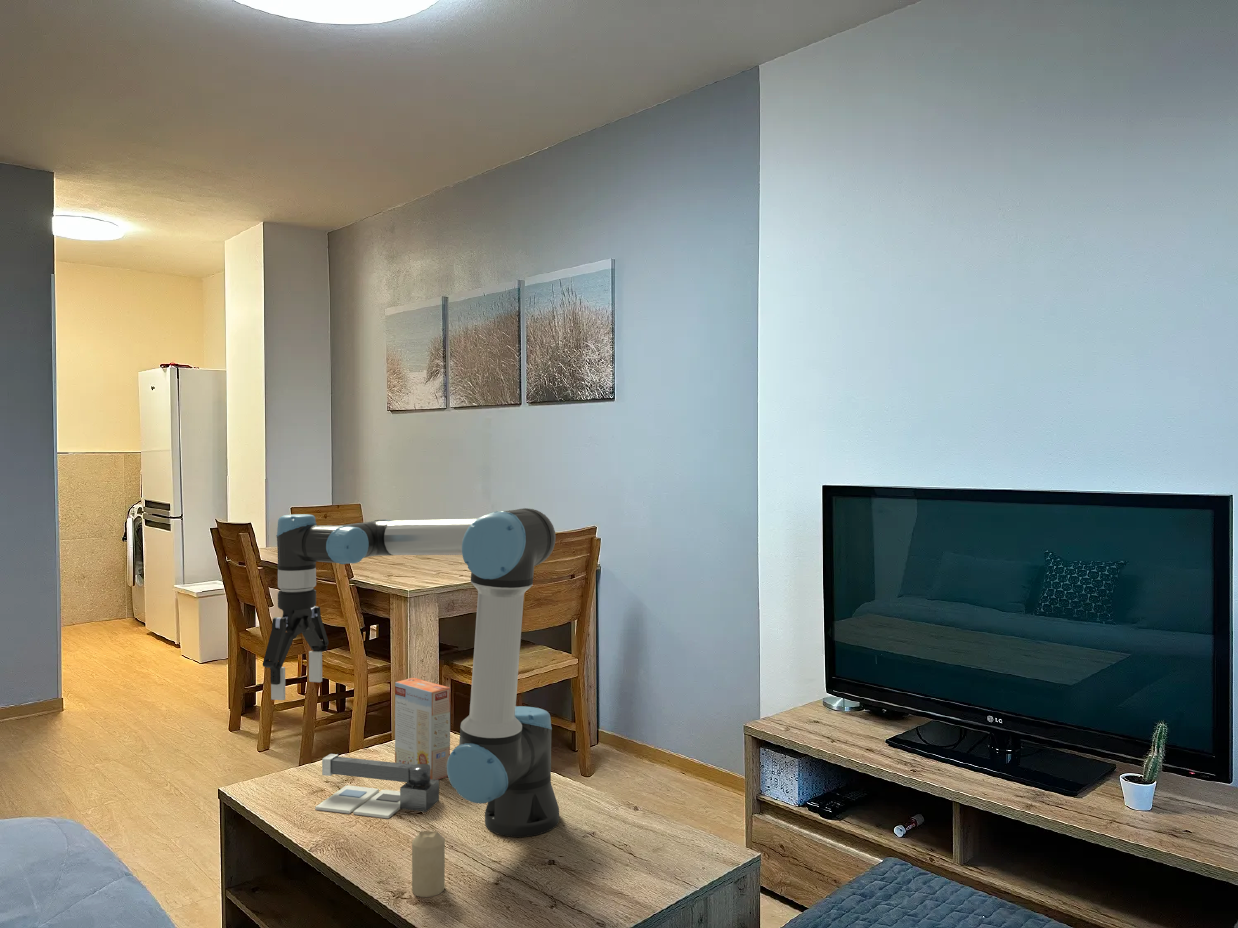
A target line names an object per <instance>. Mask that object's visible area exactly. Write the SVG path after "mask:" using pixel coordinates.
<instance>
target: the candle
mask: <svg viewBox="0 0 1238 928" xmlns="http://www.w3.org/2000/svg"><path fill="white" fill-rule="evenodd" d="M445 841H446V839H445V837H444V836H443V835H441V833H440V832H438V831H437V830H435V831H433V830H432V831H430V830H421V831H420V832H419V833H418V834H417V835H416V836H415V837H414V838H413V839H412V842H411V870H412V871H411V891H412V893H413V894H414V895H415V896H417V897H421V898H430V897H435V896H437V895H440V894H441V893H442V892H443V891H444V890H445V886H446V885H445V877H446V875H445V870H446V869H445V866H446V865H445V863H446V862H445V861H446V860H445V859H446V858H445V852H446V851H445V850H446V849H445V848H446V847H445V845H446V843H445Z"/></svg>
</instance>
